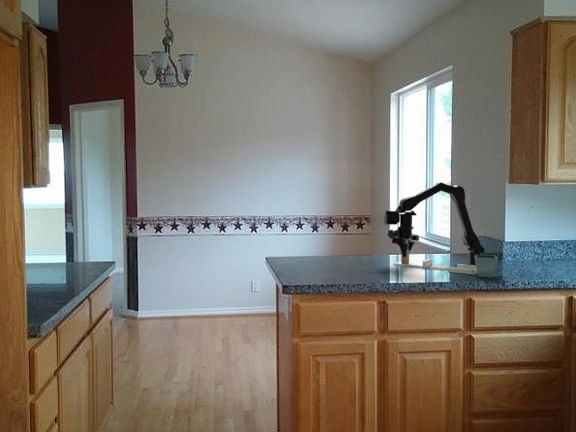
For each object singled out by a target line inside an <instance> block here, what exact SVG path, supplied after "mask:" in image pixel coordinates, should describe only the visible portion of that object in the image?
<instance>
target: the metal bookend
mask: <svg viewBox="0 0 576 432" xmlns="http://www.w3.org/2000/svg"><path fill="white" fill-rule="evenodd" d="M400 255H401V257H400V259H401V260H400V261H397V262H394V263H393V266H396V267H397V266H398V267H406V268H407V267H408V268H415V269H417V268H418V269H428V268H430V267H431V266H433V259H432V258H428V259H425V260H422V262H420V263H419V262H413V261H412V262H411V261H410V253H409V249H408V250H407V253H406V256H405V257H403V256H402V253H401V254H400Z"/></svg>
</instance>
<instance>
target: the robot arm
mask: <svg viewBox="0 0 576 432" xmlns="http://www.w3.org/2000/svg"><path fill="white" fill-rule="evenodd" d="M440 192H442V193H446V194H448V195H449V197H450V199H451V200H452V202H453V204H454V205H455V208H456V211H457V214H458V217H459V221H460V224H461V227H462V230H463V235H461V236H460V238H461V241H462V245H464V246H465V248H467V251H468V252H469V262H467V263H466V265H475V255H483V254H484V253H485V251H486V250H485V247H483V245H482V244H481V241H480V239H479V237H478V235H477V234H476V232H475V231H474V229H473V226H472V222H471V219H470V216H469V213H468V208H467V205H466V192H465V188H464V187H462V186H460V185H450V184H447V183H444V182H440V181H438V182H436V183H435V184H434V185H432V186H430V187H428V188H426V189H424V190H423V191H420V192H419V193H417V194H415V195H411V196H408V197H405V198H401V200H400V201H399V203H398V206H397V208H396V209H395V210H385V211H384V212H385V213H384V217H383V223H384V225H387V226H388V225H390V226H392V225H394V226H395V225H398V224H399V226H397V229H396V230H393V229H389V230H388V232H387V236H388V238H389V239H390V240H391V243H392V244H396V245H397V246H399V248H400V252H401V253H402V256H403V257H405V256H406V253H407V250H408V249H409V254H410V253H411V251H412V249H413V247H414V246H415V243H416V242H419V241H420V236H419V235H418V234H413V230H414V229H415V228H414V226H413V216H417V213H416V212H415V211H414V208H415V207H417V206H418V205H419V204H420V203H421V202H424V201H425V200H426V199H429V198H430V197H432V196H435V195H436V194H438V193H440ZM475 266H476V265H475Z"/></svg>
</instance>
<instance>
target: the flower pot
mask: <svg viewBox="0 0 576 432" xmlns="http://www.w3.org/2000/svg"><path fill="white" fill-rule="evenodd" d="M498 259H499V258H498V257H497V256H496V255H492V254H491V255H489V254H482V255H475V266H476V270H477V272H478V273H477V275H478V277H479V278H489V279H491V278H492V277H494V275H495V273H496V270H497V265H498Z"/></svg>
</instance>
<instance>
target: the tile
mask: <svg viewBox="0 0 576 432" xmlns="http://www.w3.org/2000/svg"><path fill="white" fill-rule="evenodd" d="M448 267H450V265H440V264H439V265H438V264H433V265H432V266H431V267H429V270H435V269H436V270H438V271H446V270H448Z"/></svg>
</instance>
